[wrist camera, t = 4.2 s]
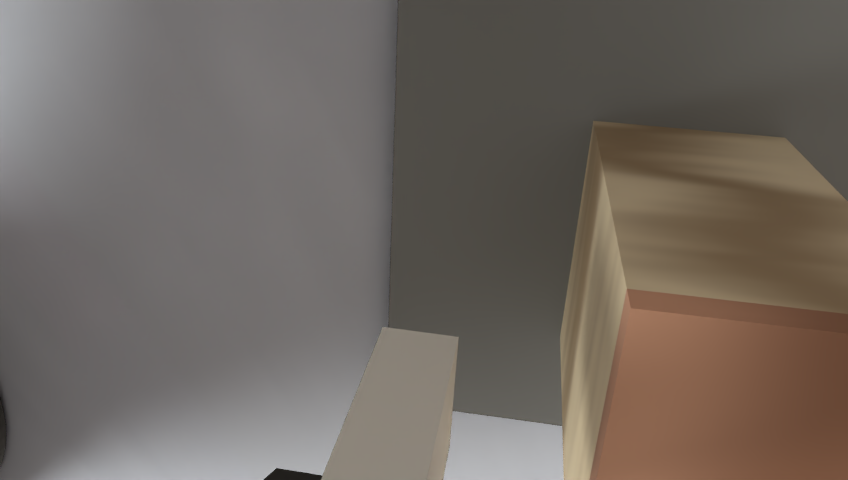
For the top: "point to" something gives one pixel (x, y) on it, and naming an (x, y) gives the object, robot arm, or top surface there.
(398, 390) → the robot arm
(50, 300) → the top surface
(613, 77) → the mat
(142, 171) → the top surface
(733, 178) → the flip block
